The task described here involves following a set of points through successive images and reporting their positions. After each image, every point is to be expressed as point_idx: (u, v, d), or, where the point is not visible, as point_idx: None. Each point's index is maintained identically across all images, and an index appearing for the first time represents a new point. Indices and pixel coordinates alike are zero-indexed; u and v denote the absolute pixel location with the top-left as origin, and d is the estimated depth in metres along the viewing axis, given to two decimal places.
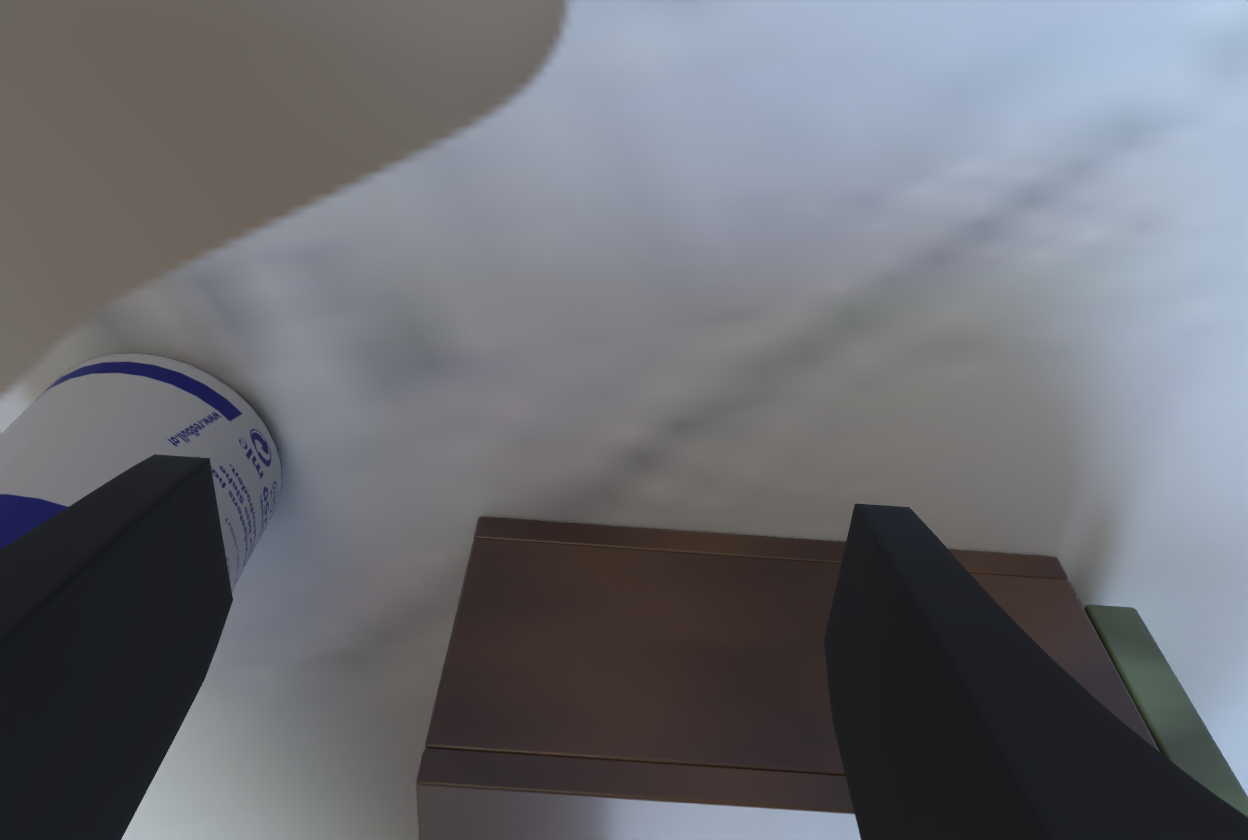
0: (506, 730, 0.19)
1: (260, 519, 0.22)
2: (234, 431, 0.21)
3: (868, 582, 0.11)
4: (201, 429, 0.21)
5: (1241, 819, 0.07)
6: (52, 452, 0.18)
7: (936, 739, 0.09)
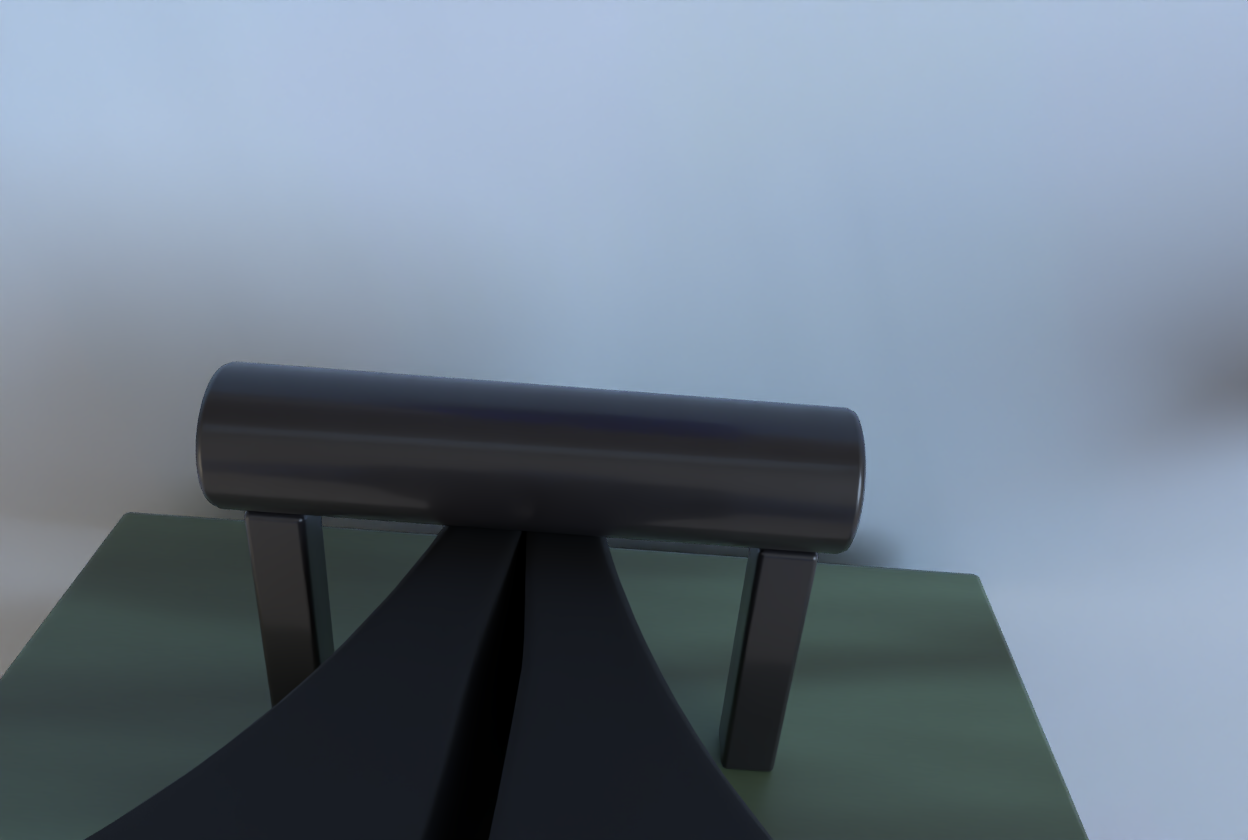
0: None
1: None
2: None
3: (526, 558, 0.10)
4: None
5: (714, 785, 0.07)
6: None
7: None
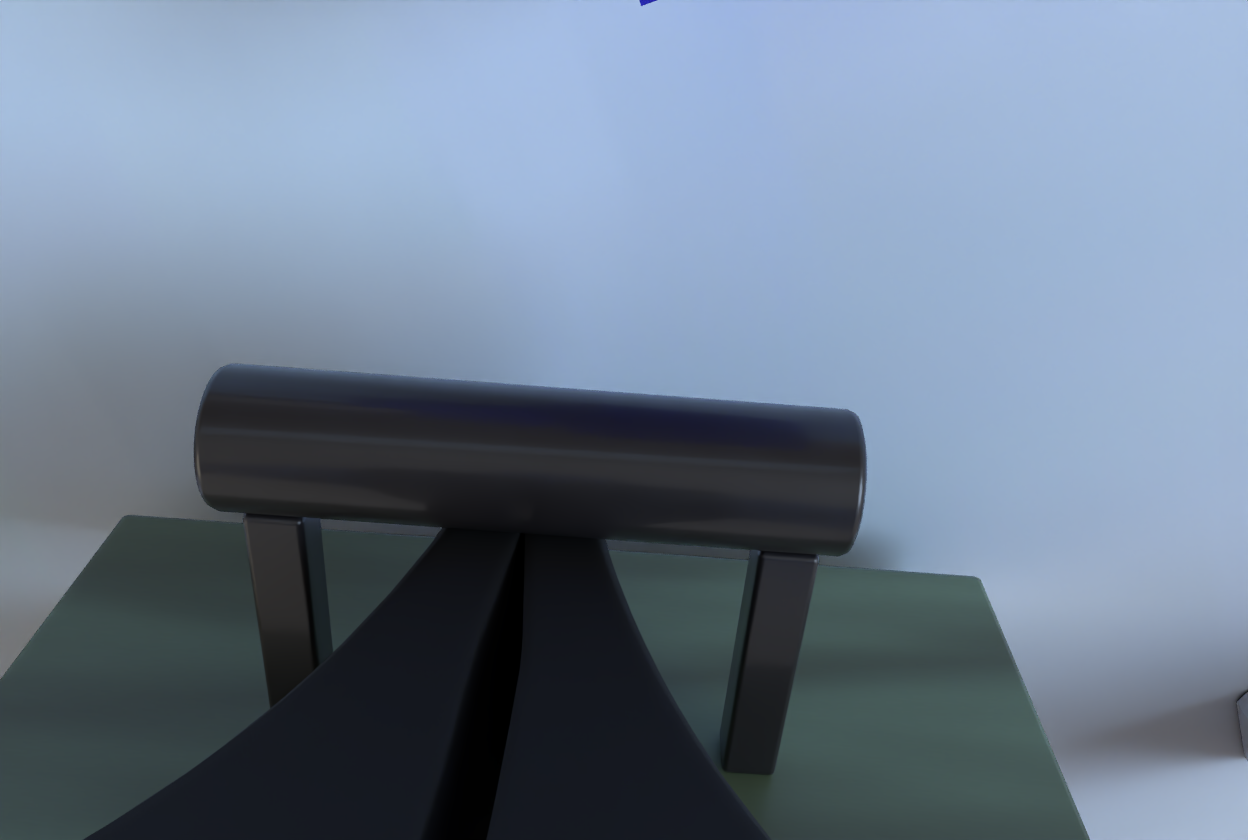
0: None
1: None
2: None
3: (525, 558, 0.10)
4: None
5: (712, 784, 0.07)
6: None
7: None
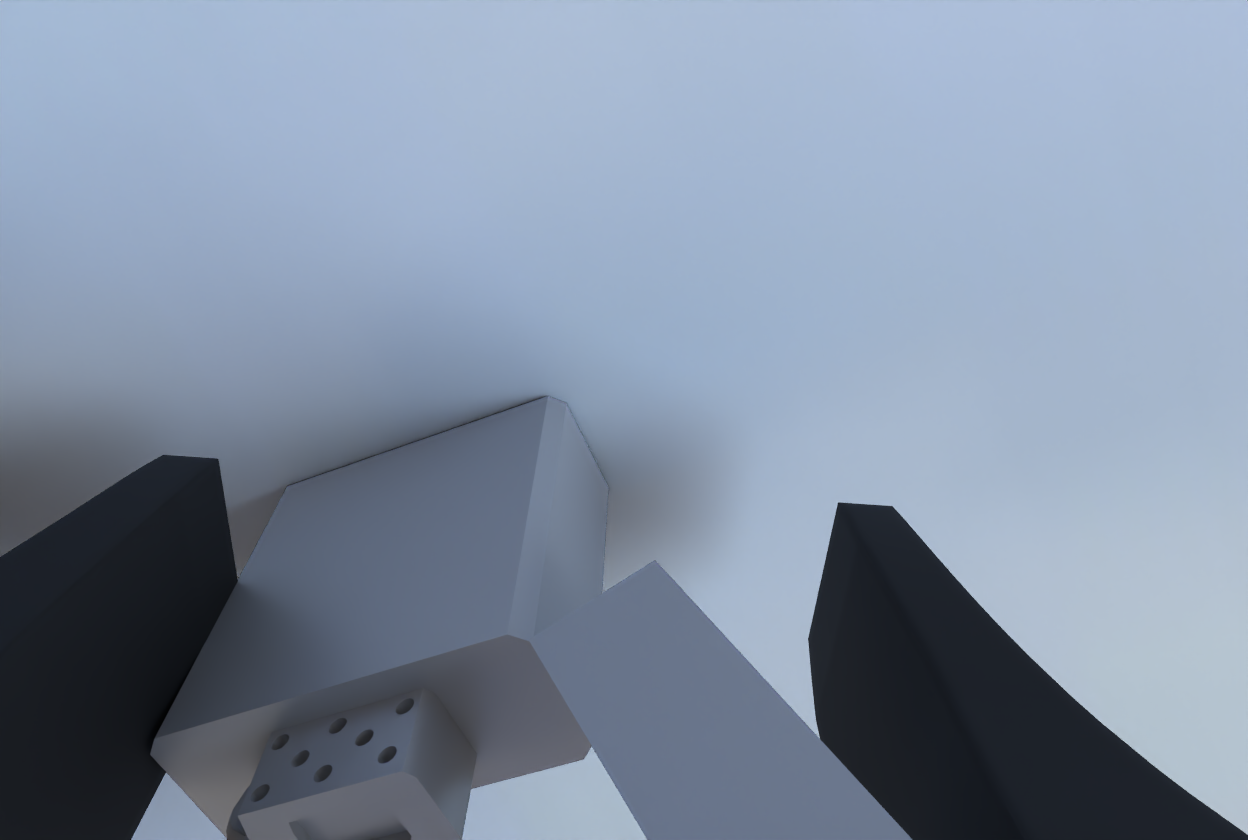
0: None
1: None
2: None
3: (850, 581, 0.11)
4: None
5: (1213, 817, 0.07)
6: None
7: (914, 737, 0.09)
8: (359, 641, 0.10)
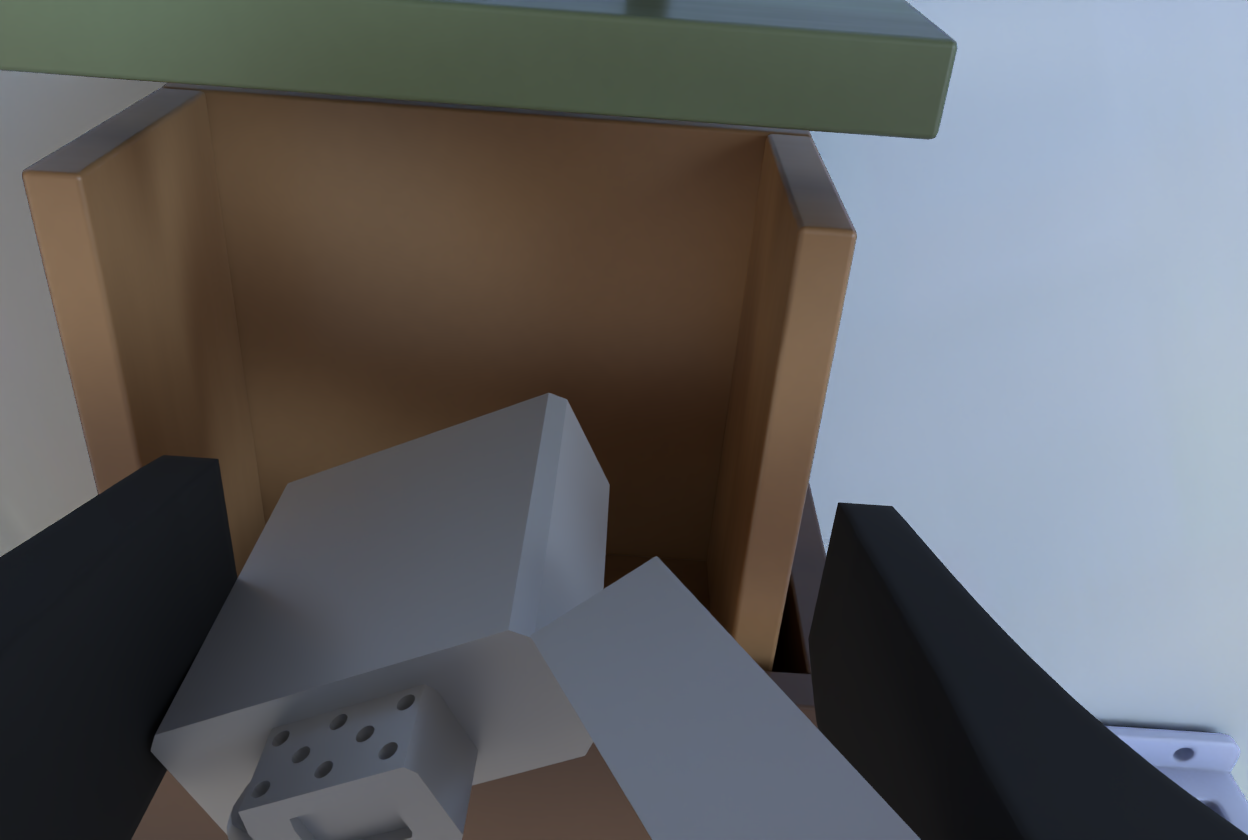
0: None
1: None
2: None
3: (850, 581, 0.11)
4: None
5: (1213, 818, 0.07)
6: None
7: (914, 738, 0.09)
8: (360, 638, 0.10)
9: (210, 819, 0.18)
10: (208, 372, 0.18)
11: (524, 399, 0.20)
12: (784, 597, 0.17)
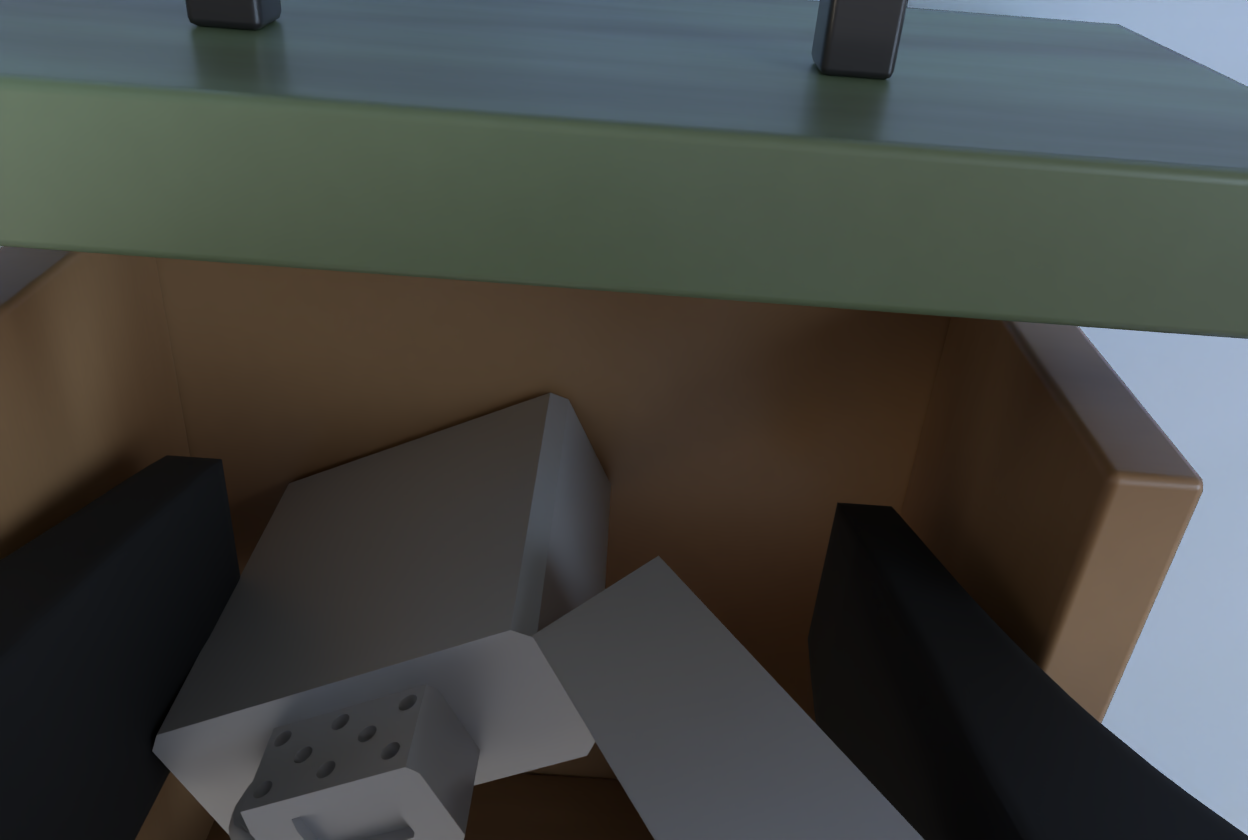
0: None
1: None
2: None
3: (849, 581, 0.11)
4: None
5: (1212, 817, 0.07)
6: None
7: (913, 738, 0.09)
8: (361, 638, 0.10)
9: None
10: None
11: None
12: None
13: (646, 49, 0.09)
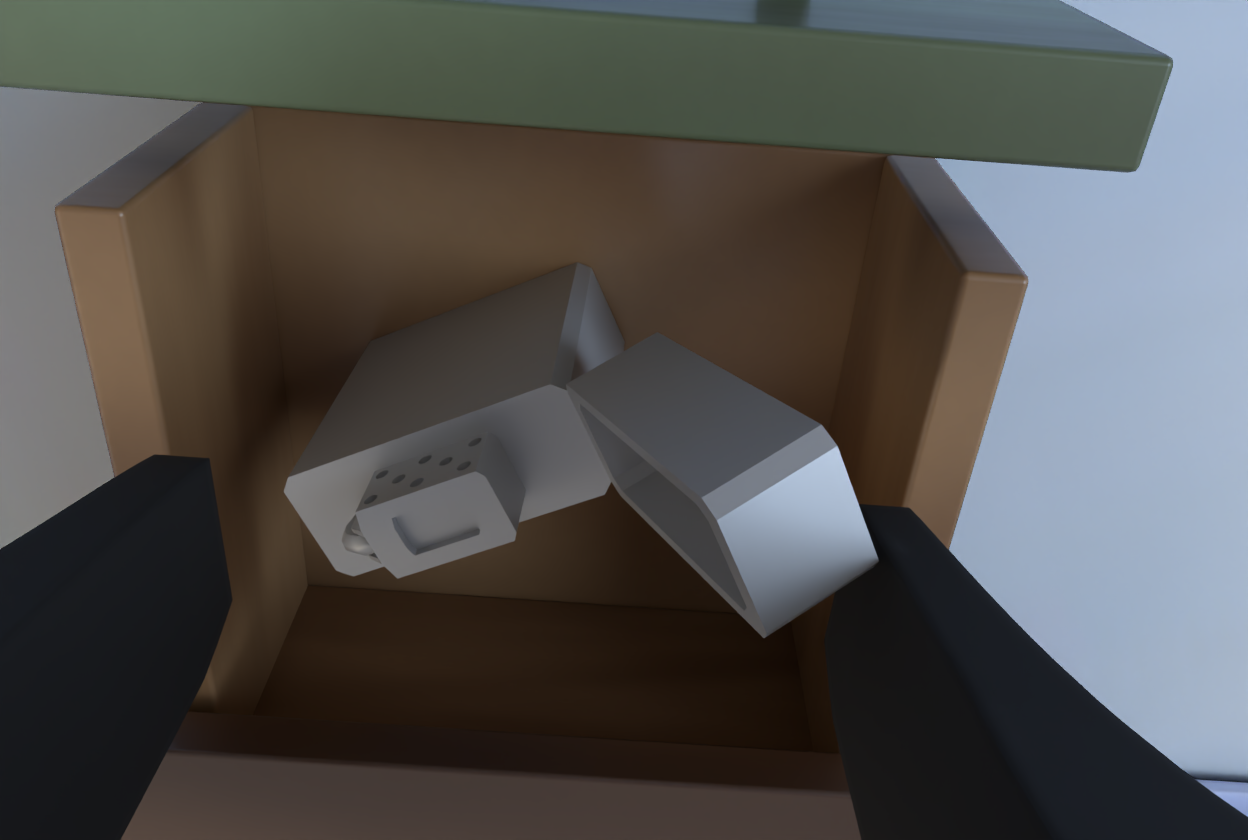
0: None
1: None
2: None
3: (868, 582, 0.11)
4: None
5: (1241, 819, 0.07)
6: None
7: (936, 739, 0.09)
8: (439, 406, 0.14)
9: None
10: (253, 420, 0.16)
11: None
12: None
13: None
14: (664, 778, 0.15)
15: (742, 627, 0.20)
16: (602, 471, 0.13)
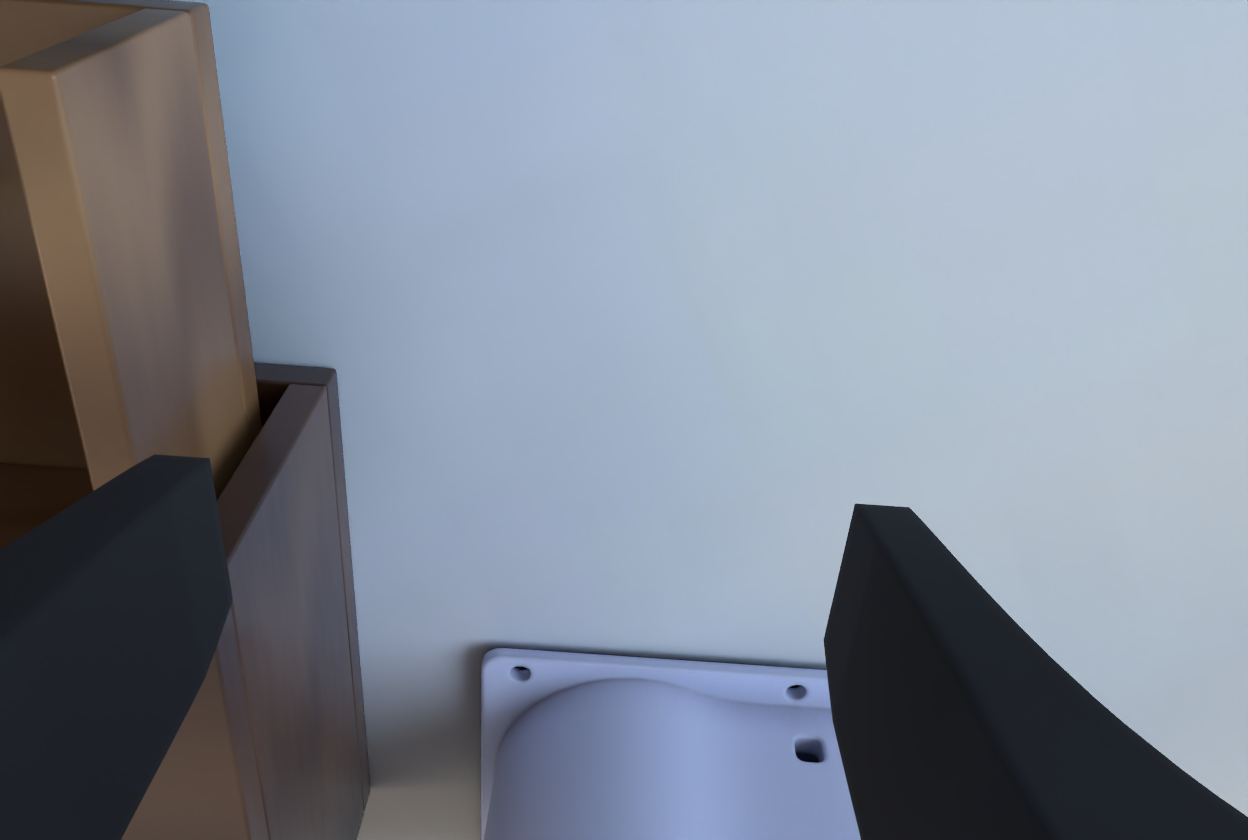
0: None
1: None
2: None
3: (868, 582, 0.11)
4: None
5: (1241, 819, 0.07)
6: None
7: (936, 739, 0.09)
8: None
9: None
10: None
11: None
12: None
13: None
14: None
15: None
16: None
